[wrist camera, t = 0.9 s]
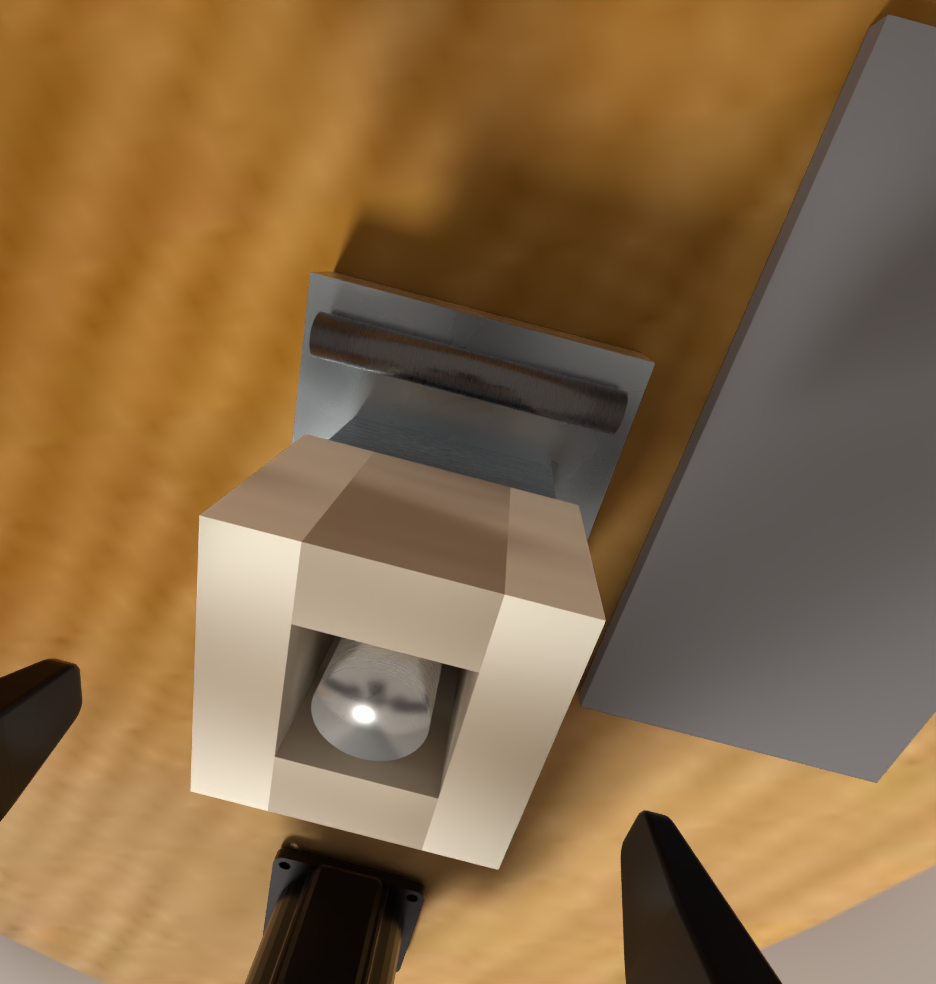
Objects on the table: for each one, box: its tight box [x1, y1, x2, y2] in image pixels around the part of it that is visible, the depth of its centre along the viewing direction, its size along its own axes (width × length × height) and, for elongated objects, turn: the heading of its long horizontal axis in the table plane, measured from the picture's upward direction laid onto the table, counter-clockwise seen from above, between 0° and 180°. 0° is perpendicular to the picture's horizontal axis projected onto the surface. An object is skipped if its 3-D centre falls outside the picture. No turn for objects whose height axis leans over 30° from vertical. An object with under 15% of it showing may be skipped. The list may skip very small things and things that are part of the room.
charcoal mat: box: [579, 14, 936, 783], centre depth 14 cm, size 18×10×1 cm, turn 166°
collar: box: [191, 434, 606, 870], centre depth 11 cm, size 6×6×4 cm
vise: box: [292, 272, 655, 761], centre depth 12 cm, size 12×8×8 cm, turn 167°
